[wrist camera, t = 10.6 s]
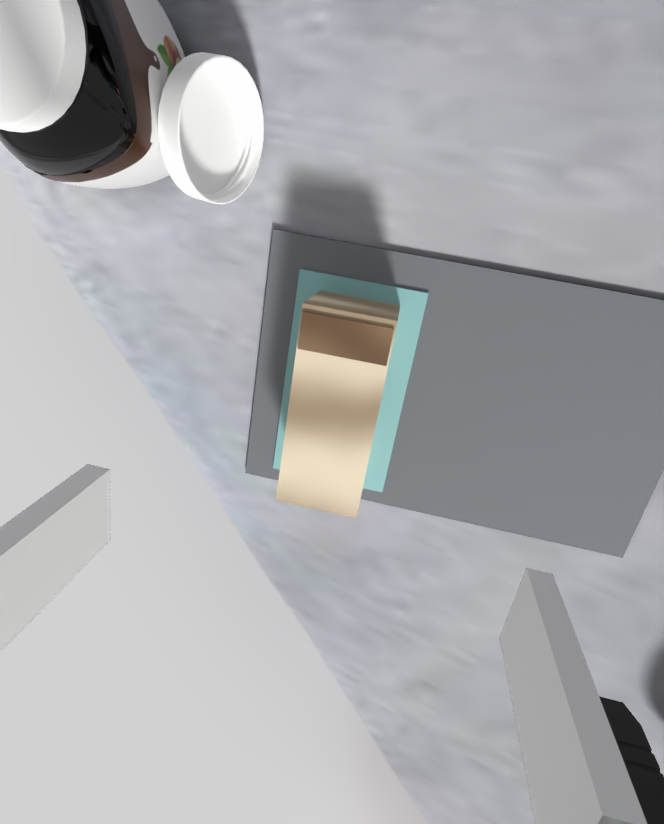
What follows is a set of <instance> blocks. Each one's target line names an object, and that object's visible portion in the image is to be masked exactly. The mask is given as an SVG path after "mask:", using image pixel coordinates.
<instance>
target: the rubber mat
mask: <svg viewBox="0 0 664 824" xmlns="http://www.w3.org/2000/svg"><path fill="white" fill-rule="evenodd" d="M300 269H303V270H309V271H314V272H319V273H325V274H330V275H335V276H341V277H346V278H351V279H357V280H362V281H367V282H373V283H378V284H383V285H389V286H394V287H399V288H405V289H410V290H415V291H421V292H426V293H429V294H428V298H427V302H426V307H425V311H424V315H423V320H422V324H421V328H420V333H419V337H418V341H417V345H416V350H415V354H414V358H413V363H412V367H411V371H410V376H409V380H408V384H407V388H406V393H405V397H404V401H403V406H402V410H401V414H400V419H399V423H398V427H397V431H396V436H395V440H394V444H393V449H392V453H391V457H390V462H389V466H388V470H387V474H386V479H385V483H384V487H383V492H378V491H373V490H369V489H364V488H363V490H362V494H361V499H364V500H368V501H373V502H377V503H381V504H386V505H390V506H395V507H399V508H404V509H408V510H413V511H417V512H422V513H426V514H430V515H435V516H439V517H444V518H448V519H453V520H457V521H462V522H466V523H471V524H475V525H479V526H484V527H488V528H493V529H497V530H502V531H506V532H511V533H515V534H519V535H524V536H528V537H533V538H537V539H542V540H546V541H551V542H555V543H560V544H564V545H568V546H573V547H577V548H582V549H586V550H591V551H595V552H600V553H604V554H608V555H613V556H617V557H622V558H623V556H624V553H625V551H626V549H627V547H628V545H629V543H630V540H631V538H632V536H633V534H634V532H635V530H636V528H637V525H638V523H639V521H640V519H641V517H642V515H643V513H644V510H645V508H646V506H647V504H648V502H649V500H650V498H651V495H652V493H653V491H654V489H655V487H656V485H657V482H658V480H659V478H660V476H661V474H662V472H663V470H664V300H661V299H655V298H650V297H644V296H639V295H633V294H628V293H622V292H617V291H611V290H606V289H600V288H595V287H589V286H584V285H578V284H573V283H567V282H562V281H556V280H551V279H545V278H540V277H534V276H529V275H523V274H518V273H512V272H507V271H501V270H496V269H490V268H485V267H479V266H474V265H468V264H463V263H457V262H451V261H446V260H440V259H435V258H429V257H424V256H418V255H413V254H407V253H402V252H396V251H391V250H385V249H380V248H374V247H369V246H363V245H358V244H352V243H347V242H341V241H336V240H330V239H325V238H319V237H314V236H308V235H303V234H297V233H292V232H286V231H281V230H275V229H273V234H272V243H271V252H270V261H269V270H268V279H267V288H266V296H265V305H264V314H263V323H262V332H261V341H260V350H259V358H258V367H257V376H256V385H255V394H254V403H253V412H252V420H251V429H250V438H249V447H248V456H247V465H246V473H248V474H252V475H257V476H261V477H266V478H270V479H275V480H279V472H280V470H279V469H274V468H273V463H274V456H275V448H276V441H277V434H278V426H279V419H280V411H281V404H282V397H283V389H284V382H285V374H286V367H287V360H288V352H289V345H290V338H291V330H292V323H293V315H294V308H295V301H296V293H297V286H298V278H299V271H300Z"/></svg>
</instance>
